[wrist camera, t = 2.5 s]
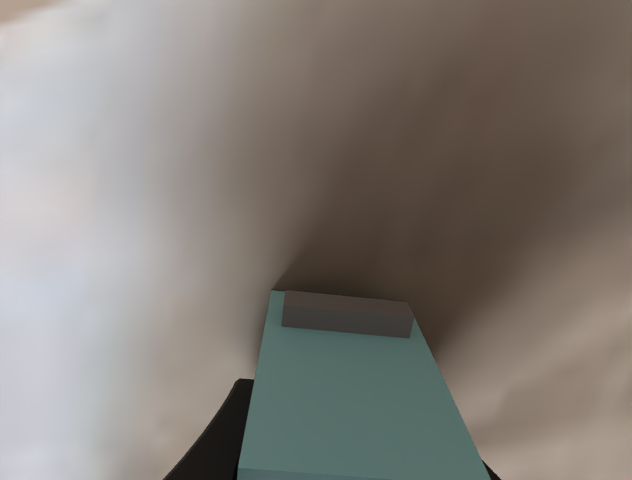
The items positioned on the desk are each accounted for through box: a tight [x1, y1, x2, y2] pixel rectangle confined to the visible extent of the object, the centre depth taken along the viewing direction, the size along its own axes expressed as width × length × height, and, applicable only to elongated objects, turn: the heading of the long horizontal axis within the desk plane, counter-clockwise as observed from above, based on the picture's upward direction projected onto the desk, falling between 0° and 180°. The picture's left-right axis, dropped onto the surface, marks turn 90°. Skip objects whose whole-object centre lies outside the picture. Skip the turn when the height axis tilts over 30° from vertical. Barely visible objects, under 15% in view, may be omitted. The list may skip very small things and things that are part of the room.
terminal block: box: [237, 290, 491, 480], centre depth 10 cm, size 4×7×6 cm, turn 173°
